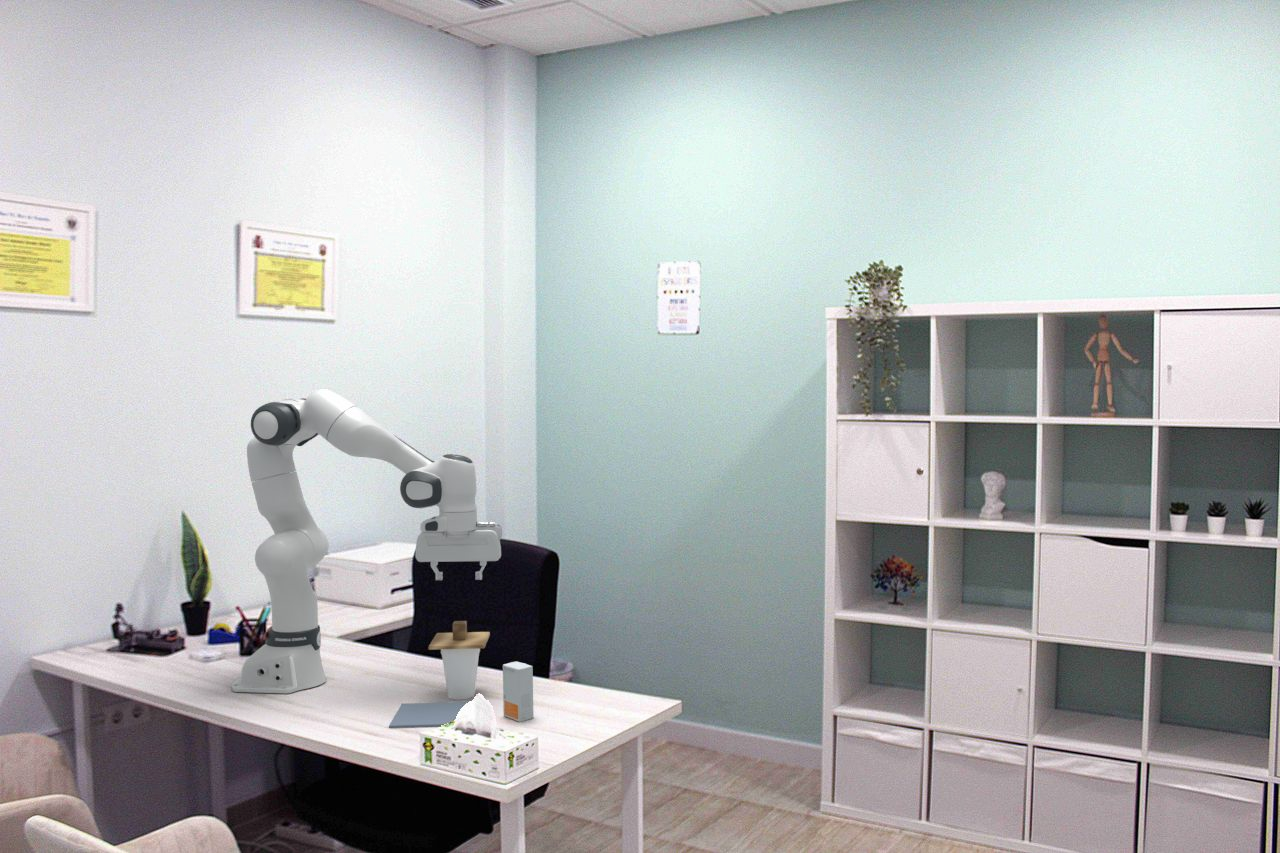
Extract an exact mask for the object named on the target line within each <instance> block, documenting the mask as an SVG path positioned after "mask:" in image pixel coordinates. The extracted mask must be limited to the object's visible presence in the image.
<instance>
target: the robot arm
mask: <svg viewBox="0 0 1280 853" xmlns="http://www.w3.org/2000/svg"><path fill="white" fill-rule="evenodd" d="M250 429H251V430H250V431H251V432H252V434H253V436H254V437H252V438H251V439H250V441H248V443H247V445H246V446H247V447H246V456H247V457H246V458H247V469H248V472H249V478H250V481H251V486H252V490H253V494H254V497H255V502H256V506H257V508H258V512H259V513H260V515H261V516H262V517H264V518H265V519H266V521H267V522H268V524H269V525H270V527H271V528H272V531H273V532H274V534H272V535H270V536H269V537H268V538H266V539H265V540H264V541H263V542H262V543H261V544H260V545H258V547H257V549H256V551H255V554H254V555H255V556H254V563H255V566H256V567H257V569H258V571H259V572H260V573H261V574H262V575H263V576H264V579H265V582H266V586H267V588H268V592H269V598H270V606H271V607H270V608H271V624H272V625H271V626H269V627H268V628H267V630H266V631H264V634H263V635H262V636H263V637H262V639H263V640H264V642H265V643H264V644H263V645H262V646H261V647H260V648H258V649H257V650H256V651H254V653H252V654H251V655H249V657H247V658H246V659H245V661H244V663H243V665H242V668H241V673H240V674H241V676H239V677H238V678H237V679H235V680H234V682H232V684H231V691H232V692H235V693H258V694H259V693H260V694H264V693H265V694H291V693H295V692H298V691H301V690H302V691H303V690H307V689H310V688H315V687H317V686H321V685H323V684H325V682H326V681H327V676H326V674H325V672H324V671H325V670H324V666H323V663H322V662H323V661H322V656H321V650H320V648H321V645H322V637H321V636H322V633H321V627H320V625H319V615H318V614H319V612H318V611H319V608H318V595H317V592H316V591H315V590H314V589H313V587H312V585H311V582H310V579H309V569H310V568H311V569H312V568H313V567H316V565H318V564H319V563H320V562H321V561H322V560H323V559H324V558H325V556H326V555H327V553H328V550H329V547H330V546H329V539H328V537H327V535H326V534H325V532H324V531H323V530H322V529H320V528H319V526H318V525H317V523H316V522H315V520H314V518H313V515H312V514H311V512H310V510H309V508H308V506H307V504H306V502H305V498H304V495H303V491H302V488H301V484H300V480H299V476H298V473H297V468H296V465H295V462H294V461H295V460H294V457H293V455H294V454H293V453H294V449H295V448H296V447H301V446H302V447H303V446H304V445H306V444H307V443H308V442H309V441H312V440H313V439H314V438H316V437H317V436H320V437H321V438H323V439H324V440H325V441H327V442H328V443H330V445H331V446H333V447H334V448H335V449H338V450H339V451H340V452H342V453H345V454H346V455H348V456H351V457H356V458H368V459H376V460H381V461H383V462H387V463H389V464H391V465H392V466H394V467H395V468H396V469H398V470H399V471H401V472H403V473H404V474H405V475H404V476H403V477H402V478H401V482H400V484H399V486H400V487H399V491H400V495H401V496H400V497H401V498H402V500H403V501H404V503H405V504H407V506H409V507H411V508H413V509H420V510H421V509H426V508H432V507H435V506H436V507H438V509H439V510H438V512H439V515H436V516H432V517H431V518H428V519H425V520H423V521H422V522H421V523H420V531H421V532H420V533H419V535H418V536H417V538H416V543H415V544H416V545H415V552H414V553H415V555H414V556H415V559H416V561H417V562H419V563H425V562H426V563H429V562H430V568H431V569H432V570H433V572H434V574H435V581H443V578H444V576H443V574H444V573H443V571H439V568H438V565H439V562H443V563H444V562H447V563H448V562H451V563H452V562H479V566H480V567H481V568H480V570H478V571H475V581H478V580H480V581H482V580H483V571H484V569H485V567H486V565H487V563H488V562H496V561H499V560H500V559H501V557H502V546H501V540H502V537H503V529H502V526H501V525H500V524H499V523H496V522H495V521H490V522H484V521H477V519H478V515H477V513H478V512H477V511H478V510H477V509H478V508H477V505H476V496H477V475H476V468H475V464H474V461H473V460H472V459H470V458H469V457H468V456H465V455H461V454H452V453H451V454H449V453H448V454H447V453H446V454H443V455H441V457H439V458H438V459H437V460H435V461H434V460H432V459H430V458H428V457H427V456H426V455H424V454H423V453H421V452H420V451H418V450H417V449H416V448H414V447H412V445H410V444H408V443H407V442H405V441H404V440H402V439H401V438H399V437H398V436H396V435H395V434H393V433H392V432H390V431H389V430H388V429H386V428H385V427H383V426H382V425H381V424H379V422H377V421H376V420H375V419H373V418H372V417H371V416H370V415H369V414H367V413H366V412H365V411H364V410H362V409H361V408H360V407H358V406H357V405H356V404H354V403H353V402H352V401H350V400H349V399H348V398H345V397H344V396H343V395H341V394H339V393H337V392H335V391H333V390H331V389H327V388H320V389H316V390H314V391H313V392H311V393H310V394H309V395H308V396H307V397H306V398H287V399H286V398H285V399H282V400H278V401H272V402H270V401H269V402H268V403H265V404H263V405H260V406H259V407H258V408H257V409H256V410H254V412H253V414H252V416H251V419H250Z"/></svg>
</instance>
